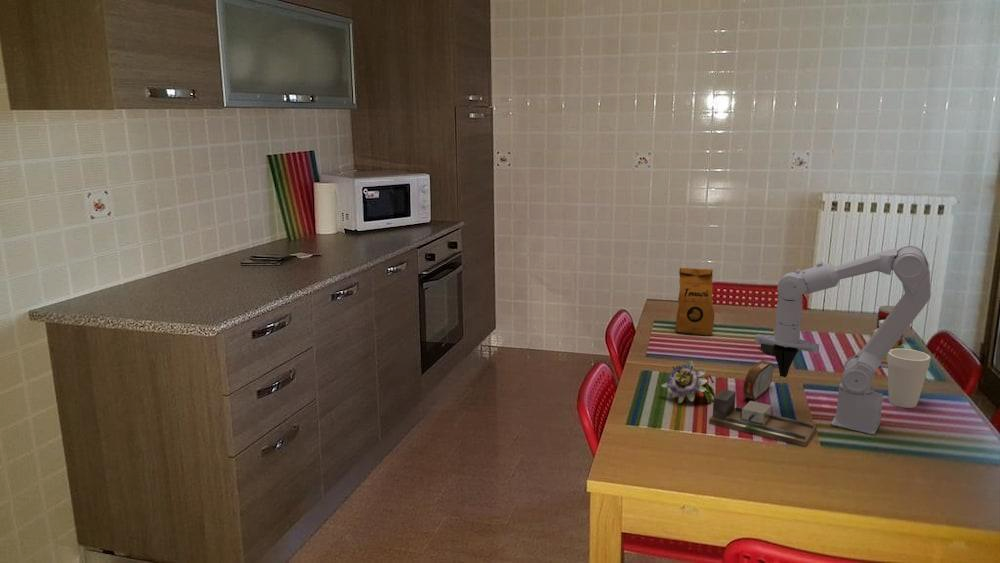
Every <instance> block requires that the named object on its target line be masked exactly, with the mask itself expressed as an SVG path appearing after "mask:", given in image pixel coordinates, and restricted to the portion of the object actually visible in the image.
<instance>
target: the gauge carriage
mask: <svg viewBox="0 0 1000 563" xmlns="http://www.w3.org/2000/svg"><path fill="white" fill-rule="evenodd" d="M740 408H741V414H740V418H741V420H743V421H747V422H752V423H756V424H760V425H765V423H766V422H767V421H768V420H769V419H770V415H772V405H771V404H767V403H762V402H757V401H753V400H749V401H748V402H746V403H745V404H744V405H743V406H742V407H740Z"/></svg>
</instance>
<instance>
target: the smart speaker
mask: <svg viewBox="0 0 1000 563" xmlns="http://www.w3.org/2000/svg"><path fill="white" fill-rule="evenodd" d="M773 349H774V345H768V344H762V343H760V350H761V352H763V353H765V354H767V353H768V355H771V354H772V355H771V356H774V354H773Z"/></svg>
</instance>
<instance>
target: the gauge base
mask: <svg viewBox="0 0 1000 563" xmlns="http://www.w3.org/2000/svg"><path fill="white" fill-rule="evenodd" d="M736 394H737V393H736V390H735V391H734V390H730V389H724V388H723V389H722V390H721V391H719V393H718V394H717V395H715V397H714V396H713V401H712V403H713V404H712V416H710V418H709V421H708V422H709V424H711V425H714V426H719V427H723V428H728V429H730V428H731V430H735V431H739V432H742V433H743V432H744V433H748V434H751V435H755V436H759V437H763V438H768V439H771V440H772V439H773V440H775V441H779V442H780V441H781V442H785V443H787V444H792V445H796V446H801V447H807V446H808V444H809V442H810V441H811V440H812V438H813V437H814V435H815V434H816V432H817V429H818V428H817V427H818V426H817V425H815V424H814V423H810V422H805V421H802V420H801V421H800V420H796V419H793V418H788V417H784V416H783V417H782V416H779V415H774V414H771V415H770V419H769V420H768V421H767V422H766V423H765V425H760V424H756V423H752V422H747V421H743V420H741V418H740V414H741V408H742V407H739V406H736V397H737V396H736Z"/></svg>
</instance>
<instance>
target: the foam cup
mask: <svg viewBox="0 0 1000 563" xmlns="http://www.w3.org/2000/svg"><path fill="white" fill-rule="evenodd" d="M931 358H932V357H931V356H930V354H927V353H926V352H923V351H920V350H916V349H909V348H897V349H891V350H890V351H889V353H888V354H887V362H888V367H887V383H888V384H887V385H888V386H887V388H888V389H887V392H888V401H889V403H890V404H891V405H893V406H897V407H901V408H904V409H905V408H907V409H910V408H911V409H912V408H916V407H917V406H918V403H919V400H920V396H921V393H922V391H923V390H922V389H923V386H924V384H925V380H926V376H927V373H928V371H929V368H930V365H931Z"/></svg>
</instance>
